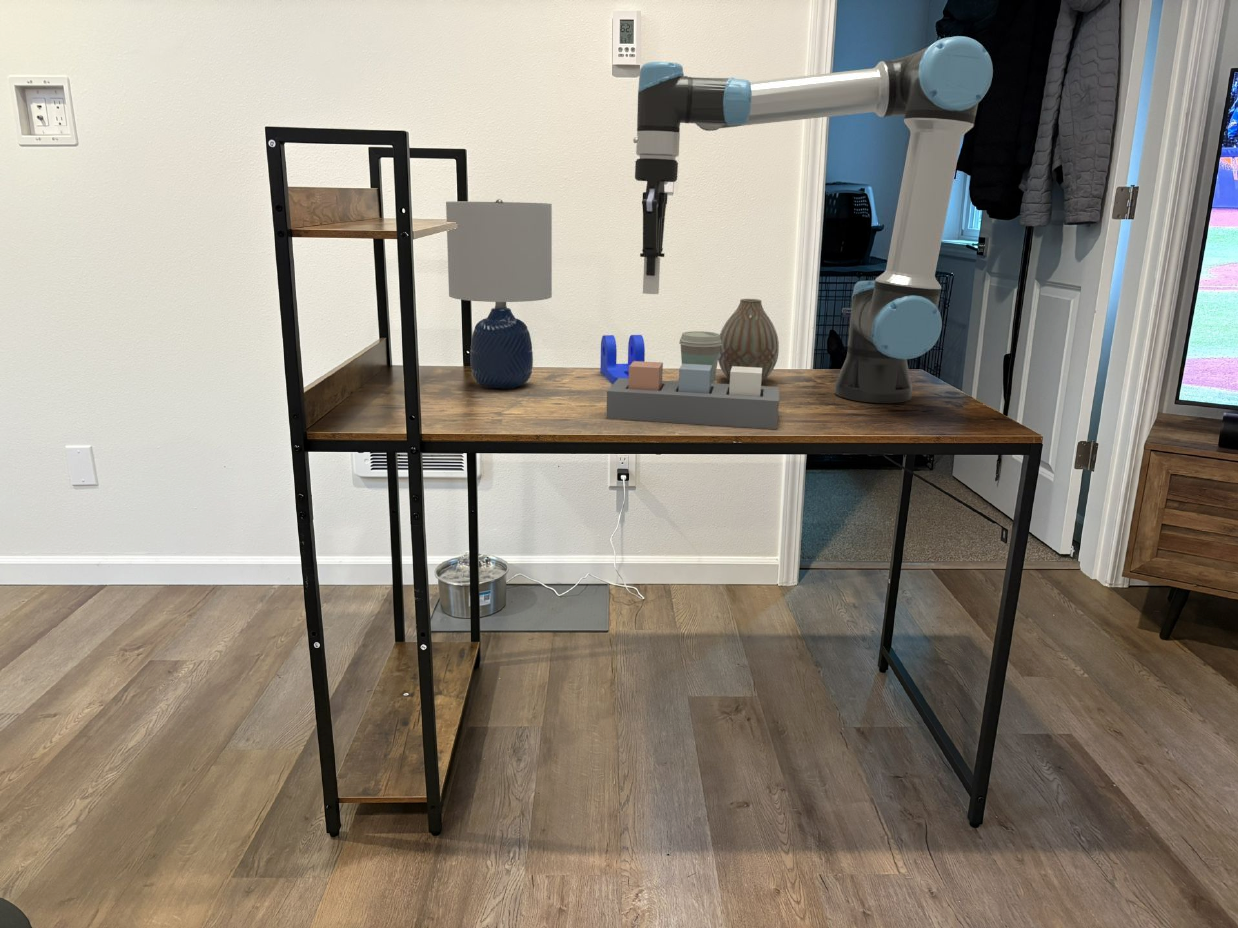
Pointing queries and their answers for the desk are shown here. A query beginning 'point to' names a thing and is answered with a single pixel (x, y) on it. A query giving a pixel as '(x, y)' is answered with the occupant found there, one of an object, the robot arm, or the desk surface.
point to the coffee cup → (701, 349)
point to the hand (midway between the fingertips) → (650, 293)
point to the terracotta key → (645, 375)
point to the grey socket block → (693, 405)
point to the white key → (745, 381)
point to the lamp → (500, 280)
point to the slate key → (695, 378)
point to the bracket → (610, 355)
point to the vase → (749, 339)
